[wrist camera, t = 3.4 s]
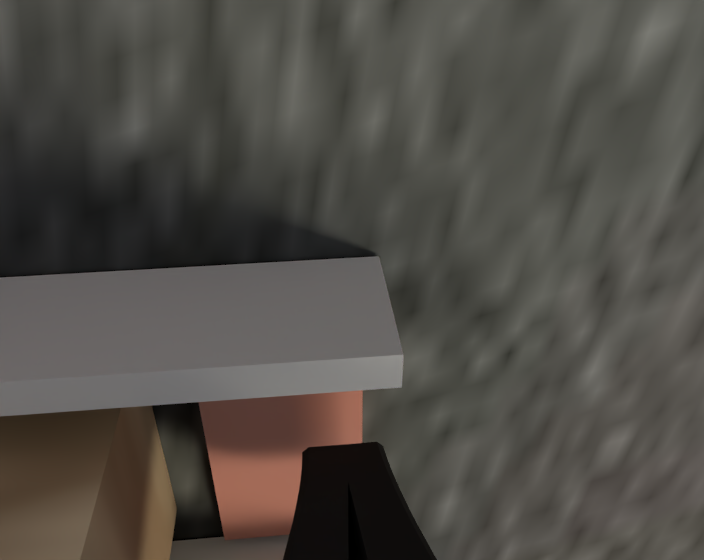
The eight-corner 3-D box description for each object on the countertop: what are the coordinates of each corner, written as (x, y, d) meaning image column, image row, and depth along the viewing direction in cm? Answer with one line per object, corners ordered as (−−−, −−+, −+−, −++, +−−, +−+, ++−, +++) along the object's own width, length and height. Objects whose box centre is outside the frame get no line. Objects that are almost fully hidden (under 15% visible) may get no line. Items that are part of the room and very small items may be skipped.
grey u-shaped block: (379, 256, 11) (403, 354, 9) (372, 539, 15) (388, 649, 13) (-478, 303, 10) (-676, 428, 8) (-221, 592, 14) (-304, 720, 12)
